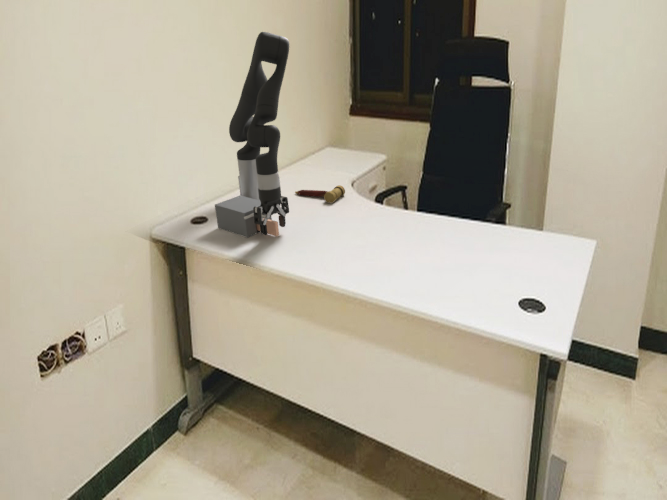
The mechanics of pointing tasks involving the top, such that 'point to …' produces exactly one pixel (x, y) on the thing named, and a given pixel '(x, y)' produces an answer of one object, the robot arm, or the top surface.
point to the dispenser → (238, 215)
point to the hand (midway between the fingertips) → (273, 230)
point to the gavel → (324, 193)
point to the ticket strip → (270, 227)
